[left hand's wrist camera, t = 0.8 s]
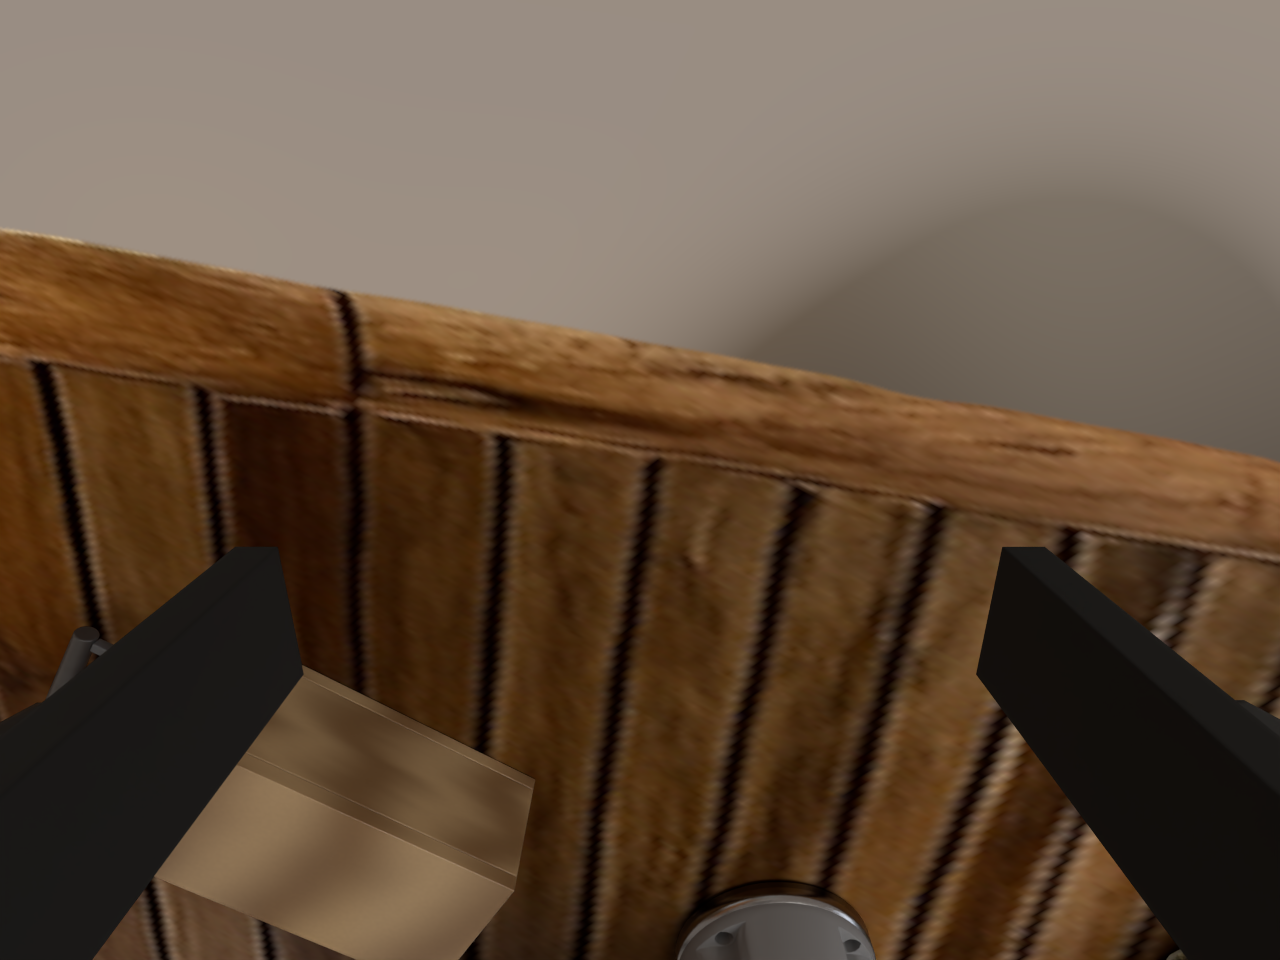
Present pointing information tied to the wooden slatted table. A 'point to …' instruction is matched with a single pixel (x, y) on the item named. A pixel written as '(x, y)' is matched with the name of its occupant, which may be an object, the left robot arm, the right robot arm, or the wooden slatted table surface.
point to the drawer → (78, 655)
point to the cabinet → (359, 830)
